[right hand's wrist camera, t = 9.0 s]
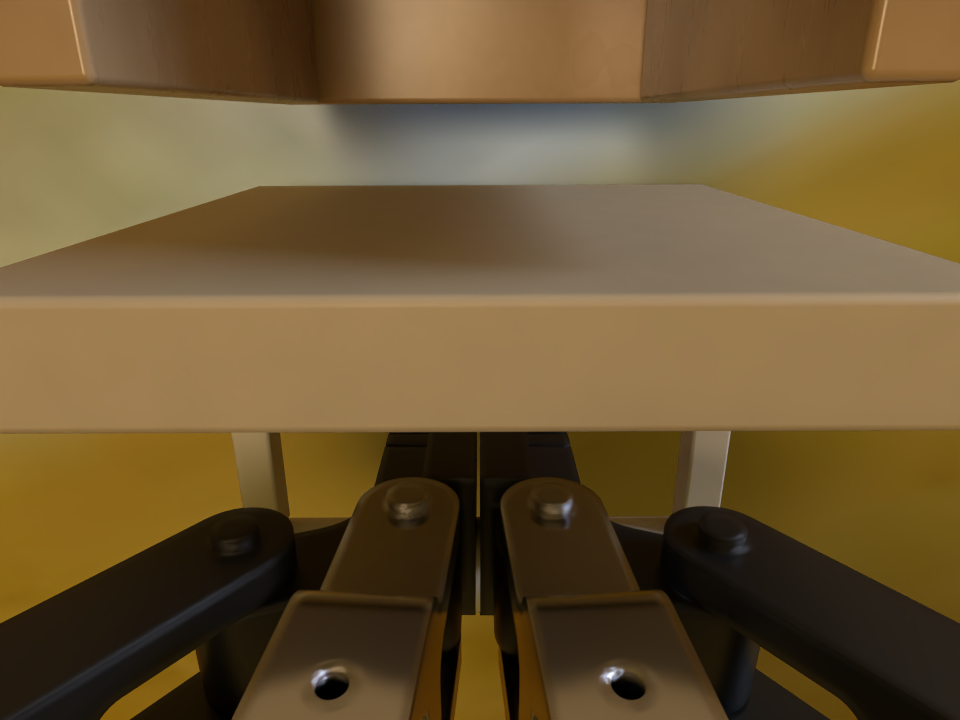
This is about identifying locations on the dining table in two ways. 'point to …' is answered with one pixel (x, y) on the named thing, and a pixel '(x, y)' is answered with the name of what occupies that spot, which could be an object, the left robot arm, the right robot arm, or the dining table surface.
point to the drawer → (479, 243)
